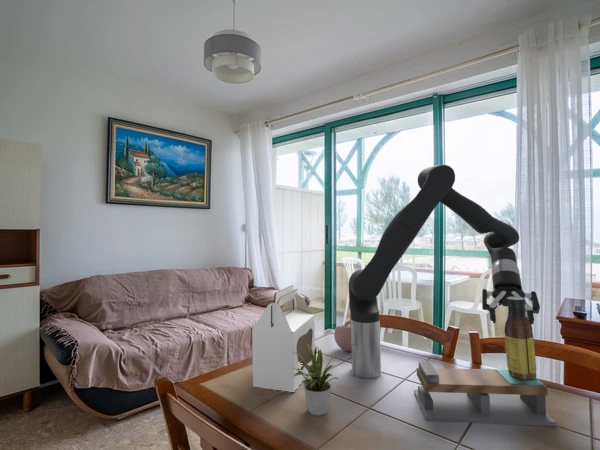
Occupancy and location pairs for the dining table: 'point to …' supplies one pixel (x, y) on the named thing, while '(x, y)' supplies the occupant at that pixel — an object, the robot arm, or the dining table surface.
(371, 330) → the robot arm
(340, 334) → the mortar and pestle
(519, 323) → the sauce bottle
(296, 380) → the gable box
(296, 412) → the dining table surface
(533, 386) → the seesaw plank
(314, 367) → the house plant
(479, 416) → the seesaw stand
